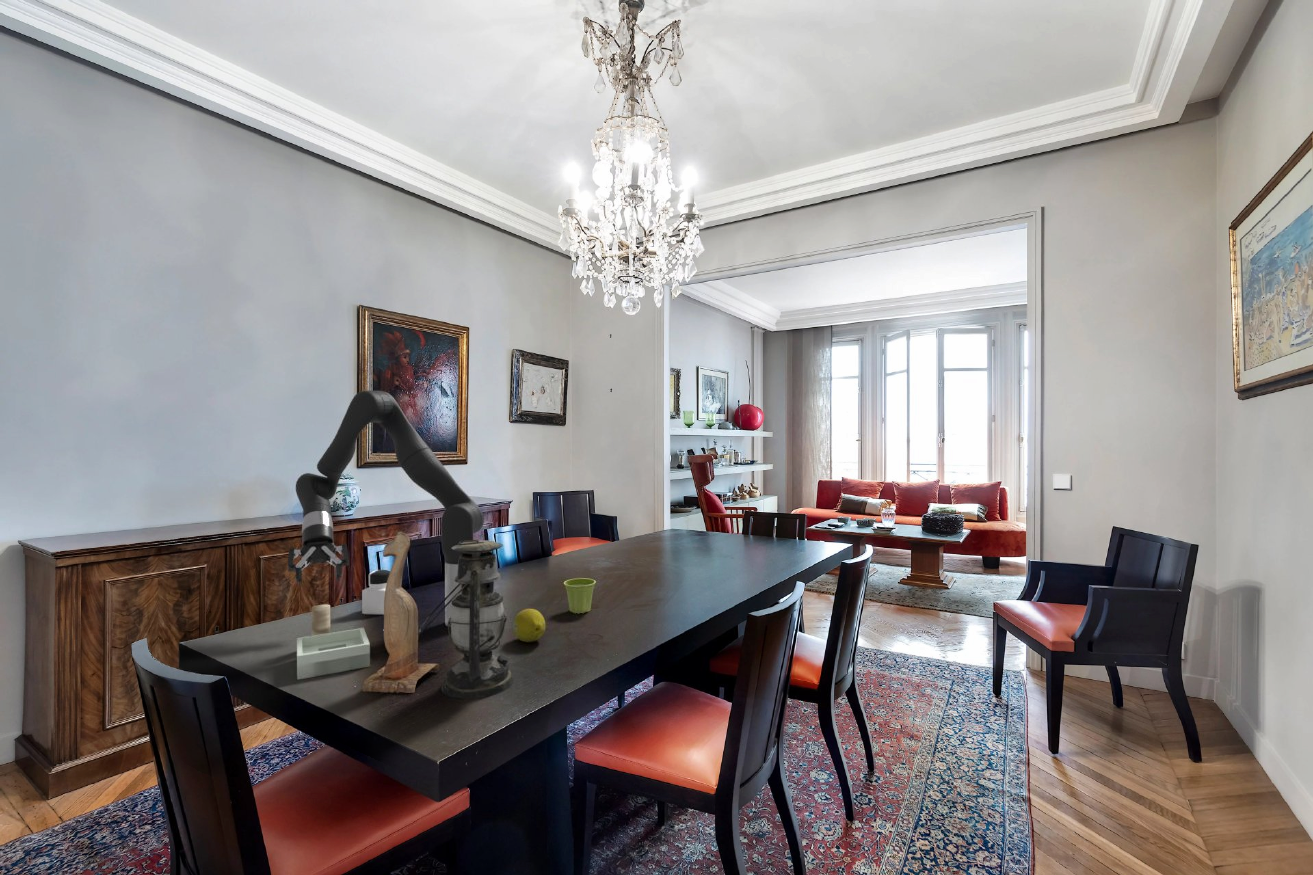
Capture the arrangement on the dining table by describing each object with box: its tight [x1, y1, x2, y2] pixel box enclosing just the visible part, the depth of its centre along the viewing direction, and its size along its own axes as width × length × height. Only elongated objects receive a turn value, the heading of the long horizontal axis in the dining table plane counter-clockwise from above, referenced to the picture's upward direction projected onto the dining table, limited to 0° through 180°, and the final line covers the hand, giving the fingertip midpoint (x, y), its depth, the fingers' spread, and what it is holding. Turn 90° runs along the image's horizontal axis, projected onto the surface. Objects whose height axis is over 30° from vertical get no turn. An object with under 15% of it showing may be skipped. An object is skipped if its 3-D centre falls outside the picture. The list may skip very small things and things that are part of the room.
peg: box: [311, 604, 331, 636], centre depth 146 cm, size 4×4×10 cm
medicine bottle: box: [361, 569, 391, 615], centre depth 177 cm, size 7×7×12 cm
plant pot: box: [563, 577, 597, 614], centre depth 176 cm, size 9×9×9 cm
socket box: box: [296, 627, 371, 680], centre depth 135 cm, size 14×14×5 cm
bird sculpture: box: [362, 531, 440, 694], centre depth 125 cm, size 11×12×32 cm
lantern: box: [418, 539, 515, 700], centre depth 123 cm, size 19×19×30 cm
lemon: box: [512, 608, 546, 643], centre depth 149 cm, size 11×8×8 cm
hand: (319, 580), depth 155 cm, fingers open, 8 cm apart
